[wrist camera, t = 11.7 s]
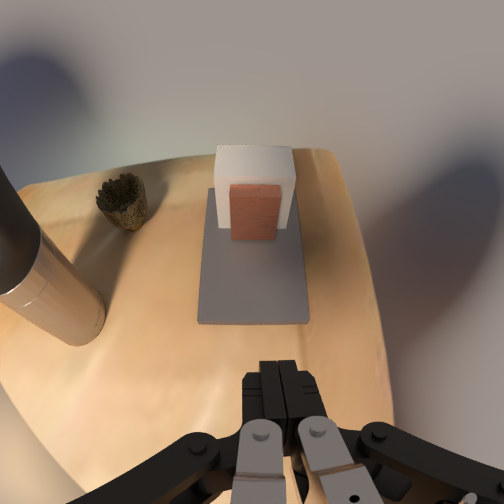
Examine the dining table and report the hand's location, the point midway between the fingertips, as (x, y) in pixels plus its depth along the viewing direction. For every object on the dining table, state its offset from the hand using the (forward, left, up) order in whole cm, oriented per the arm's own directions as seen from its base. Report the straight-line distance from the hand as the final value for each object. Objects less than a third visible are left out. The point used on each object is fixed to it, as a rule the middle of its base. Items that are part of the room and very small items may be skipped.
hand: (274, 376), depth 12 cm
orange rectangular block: (0, +27, -22) cm, 35 cm away
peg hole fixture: (0, +21, -24) cm, 32 cm away
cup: (-19, +26, -24) cm, 40 cm away
